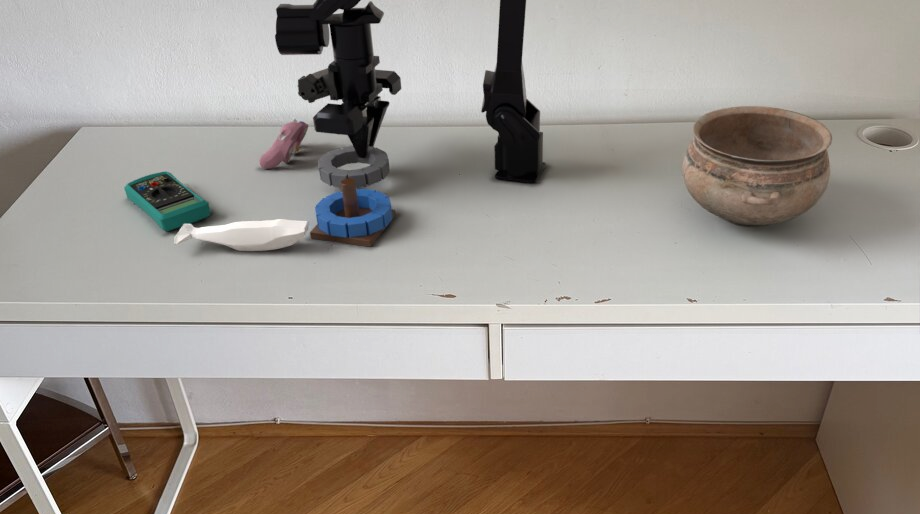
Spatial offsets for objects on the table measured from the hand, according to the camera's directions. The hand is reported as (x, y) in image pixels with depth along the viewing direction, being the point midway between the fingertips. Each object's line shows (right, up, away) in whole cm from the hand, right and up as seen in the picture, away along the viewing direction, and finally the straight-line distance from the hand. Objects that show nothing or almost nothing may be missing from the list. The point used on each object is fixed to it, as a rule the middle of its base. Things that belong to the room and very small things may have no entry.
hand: (365, 154), depth 135 cm
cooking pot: (+55, -11, -13) cm, 57 cm away
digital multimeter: (-28, -9, -5) cm, 30 cm away
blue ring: (0, -11, -12) cm, 17 cm away
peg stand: (0, -13, -12) cm, 17 cm away
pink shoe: (-13, +1, +7) cm, 15 cm away
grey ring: (-1, -3, -3) cm, 4 cm away
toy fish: (-14, -16, -15) cm, 26 cm away
